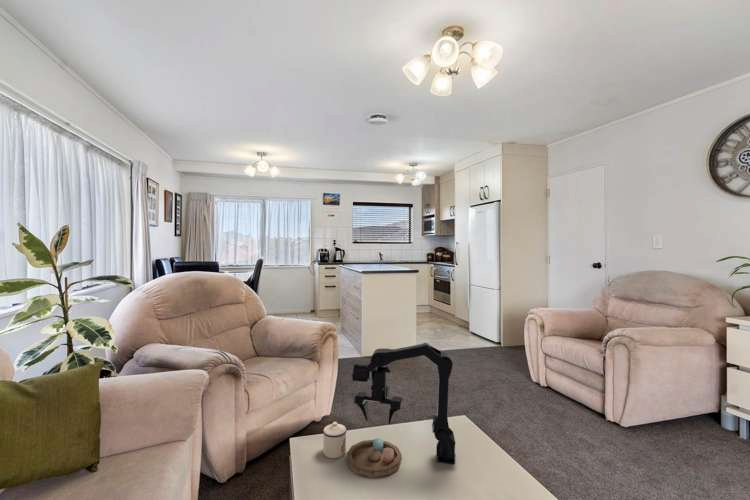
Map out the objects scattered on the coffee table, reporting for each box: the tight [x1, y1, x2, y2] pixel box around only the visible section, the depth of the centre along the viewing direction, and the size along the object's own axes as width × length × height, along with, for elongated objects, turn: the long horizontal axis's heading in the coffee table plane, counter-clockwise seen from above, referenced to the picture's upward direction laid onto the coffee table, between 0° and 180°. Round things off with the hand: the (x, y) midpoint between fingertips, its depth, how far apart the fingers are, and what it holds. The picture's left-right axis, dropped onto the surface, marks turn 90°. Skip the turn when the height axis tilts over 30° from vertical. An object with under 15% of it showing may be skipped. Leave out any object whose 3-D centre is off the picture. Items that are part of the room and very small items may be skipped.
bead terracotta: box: [383, 448, 394, 464], centre depth 131 cm, size 4×4×4 cm
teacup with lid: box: [322, 421, 347, 459], centre depth 140 cm, size 12×9×12 cm
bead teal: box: [372, 437, 384, 453], centre depth 138 cm, size 4×4×4 cm
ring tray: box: [346, 439, 403, 479], centre depth 133 cm, size 20×20×3 cm
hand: (378, 422), depth 138 cm, fingers open, 9 cm apart
